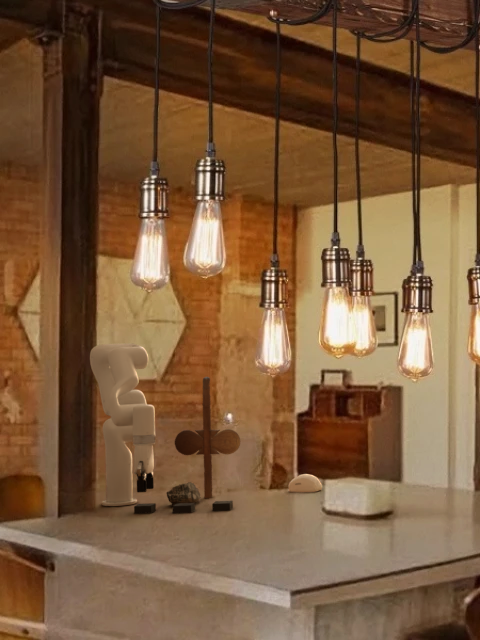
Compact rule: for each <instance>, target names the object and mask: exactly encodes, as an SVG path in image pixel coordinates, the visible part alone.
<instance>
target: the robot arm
mask: <svg viewBox="0 0 480 640" xmlns="http://www.w3.org/2000/svg"><path fill="white" fill-rule="evenodd" d="M89 363H90V368H91V371H92V373H93V375H94V378H95V380H96V382H97V384H98V385H97V386H98V390H99V395H100V396H99V397H100V400H101V405H102V410H103V413H104V414H105V416H108V417H110V418H107V419H106V420H105V421H104V422H103V424H102V435H103V441H104V449H105V451H104V453H105V500H102V501H101V506H105V507H121V506H122V507H123V506H131V505H134V504H138V499H137V498H134V496H133V495H134V490H133V489H134V488H133V485H134V484H133V476H134V475H136V493H146V492H147V491H148V490H154V488H155V487H154V486H155V485H154V469H155V456H154V455H155V454H154V445H156V414H155V413H156V411H155V410H156V409H155V406H154V405H153V404H148V403H147V400H146V397H145V394H144V392H143V391H142V390H140V389H135V388H137V386H138V385H139V381H140V380H139V375H138V372H137V370H145V369H146V368H147V367H148V365H149V354H148V351H147V350H146V348H145V347H143V346H142V345H140V344H138V343H137V344H136V343H130V342H127V343H125V342H124V343H103V344H98V345H95V346H94V347H92V348H91V350H90V353H89ZM126 443H127V444H128V443H132V445H133V446H134V450H133V451H134V452H133V453H134V454H132V451H131V450H130V448H129V447H128V446H127V444H126ZM133 474H134V475H133Z"/></svg>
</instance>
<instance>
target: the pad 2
mask: <svg viewBox="0 0 480 640" xmlns="http://www.w3.org/2000/svg"><path fill="white" fill-rule="evenodd" d="M211 507H212V509H211V510H212V512H229V511H231V510H233V508H234V501H233V500H216V501H214V502H212V505H211Z"/></svg>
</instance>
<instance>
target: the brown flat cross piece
mask: <svg viewBox="0 0 480 640" xmlns="http://www.w3.org/2000/svg"><path fill="white" fill-rule="evenodd" d="M211 415H212V412H211V377H209V376H204V377H203V378H202V429H195V430H194V431H193V430H190V429H184V430H182V431H180V432H178V434H177V435H176V437H175V439H174V447H175V450H176V451H177V452H178V453H179V454H181V455H183V456H192V455H194V454H195V455H197V456H198V455H199V456H200V455H202V456H203V470H204V471H203V478H204V479H203V489H204V491H203V492H204V493H203V494H204V495H203V496H204V499H211V498H213V463H212V462H213V461H212V459H213V457H212V455H220V454H223V455H226V456H227V455H232V454H234V453H236V452H237V451H238V450H239V448H240V447H241V437H240V435H239V433H238V432H237V431H236V430H234V429H231V428H226V429H223V430H221V429H212V419H211V418H212V417H211Z"/></svg>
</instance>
